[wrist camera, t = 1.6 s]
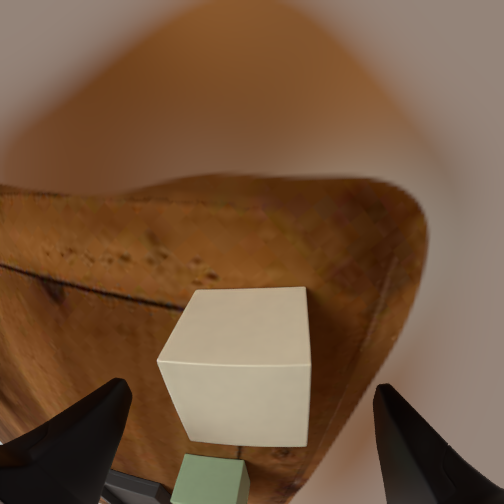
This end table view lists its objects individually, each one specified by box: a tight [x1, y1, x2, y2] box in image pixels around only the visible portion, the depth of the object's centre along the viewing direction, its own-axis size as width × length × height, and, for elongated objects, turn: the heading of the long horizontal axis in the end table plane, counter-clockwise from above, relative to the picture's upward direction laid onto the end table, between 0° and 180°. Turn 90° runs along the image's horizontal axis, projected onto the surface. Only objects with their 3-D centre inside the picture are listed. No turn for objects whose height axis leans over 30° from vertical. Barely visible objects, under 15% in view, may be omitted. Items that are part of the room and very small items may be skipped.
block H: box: [157, 287, 312, 447], centre depth 10 cm, size 4×4×4 cm
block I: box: [170, 454, 250, 504], centre depth 16 cm, size 4×4×4 cm
